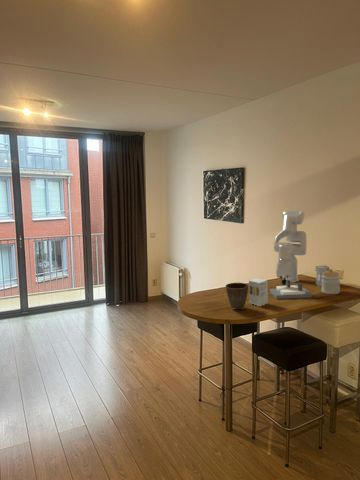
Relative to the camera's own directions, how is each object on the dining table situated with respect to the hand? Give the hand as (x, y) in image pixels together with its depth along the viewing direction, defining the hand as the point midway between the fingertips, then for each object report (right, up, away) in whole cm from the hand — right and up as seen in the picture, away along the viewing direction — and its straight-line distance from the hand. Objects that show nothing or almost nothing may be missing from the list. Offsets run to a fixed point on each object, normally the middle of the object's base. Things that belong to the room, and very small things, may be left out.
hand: (283, 284), depth 270 cm
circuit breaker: (+39, -3, +18) cm, 43 cm away
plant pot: (-40, -13, -30) cm, 52 cm away
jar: (+35, -6, -2) cm, 35 cm away
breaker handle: (+9, -3, -10) cm, 13 cm away
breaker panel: (+4, -7, -4) cm, 9 cm away
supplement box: (-24, -11, -22) cm, 35 cm away
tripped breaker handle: (+3, -1, 0) cm, 4 cm away
